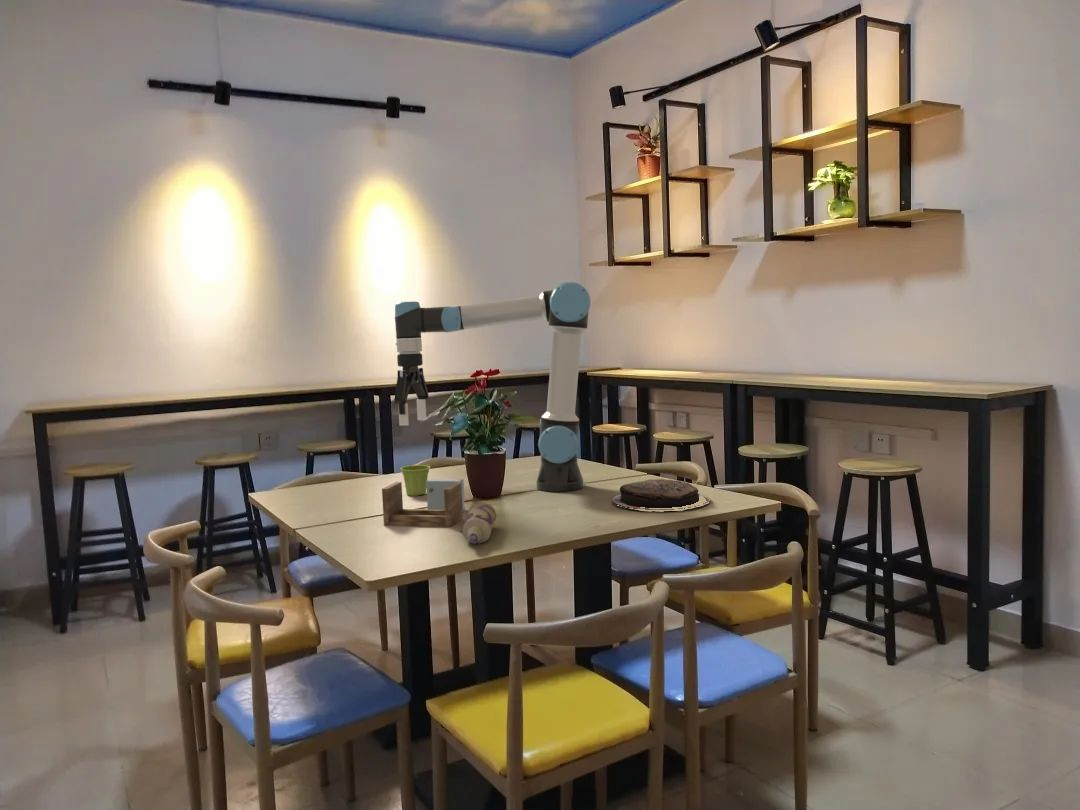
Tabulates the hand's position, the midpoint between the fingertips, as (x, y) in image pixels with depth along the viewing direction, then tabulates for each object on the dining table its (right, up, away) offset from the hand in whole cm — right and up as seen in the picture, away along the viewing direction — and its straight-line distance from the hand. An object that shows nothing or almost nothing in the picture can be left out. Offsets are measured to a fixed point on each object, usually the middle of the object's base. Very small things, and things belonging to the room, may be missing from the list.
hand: (413, 422), depth 256 cm
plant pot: (-1, -23, +12) cm, 26 cm away
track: (+7, -26, -28) cm, 39 cm away
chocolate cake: (+74, -23, -14) cm, 78 cm away
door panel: (+12, -25, -15) cm, 31 cm away
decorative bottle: (+23, -28, -48) cm, 60 cm away
